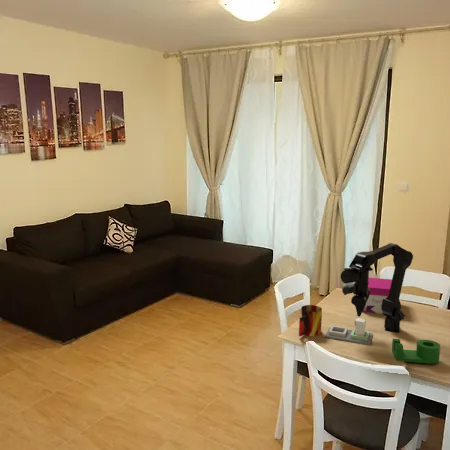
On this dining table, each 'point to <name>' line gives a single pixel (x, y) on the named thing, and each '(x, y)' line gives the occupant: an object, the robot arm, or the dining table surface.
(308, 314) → the mug
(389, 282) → the decorative box
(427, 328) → the dining table surface
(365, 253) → the robot arm
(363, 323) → the plug
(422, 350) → the green bracket
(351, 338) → the panel
